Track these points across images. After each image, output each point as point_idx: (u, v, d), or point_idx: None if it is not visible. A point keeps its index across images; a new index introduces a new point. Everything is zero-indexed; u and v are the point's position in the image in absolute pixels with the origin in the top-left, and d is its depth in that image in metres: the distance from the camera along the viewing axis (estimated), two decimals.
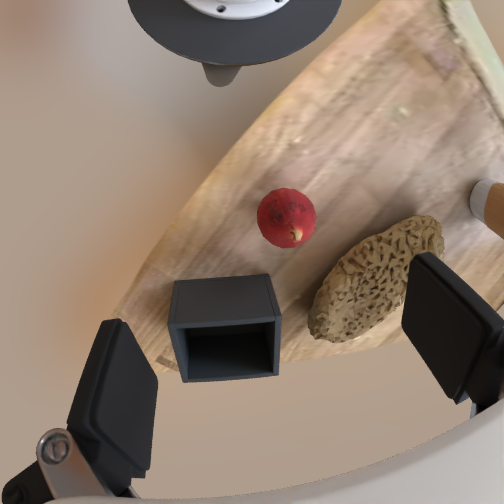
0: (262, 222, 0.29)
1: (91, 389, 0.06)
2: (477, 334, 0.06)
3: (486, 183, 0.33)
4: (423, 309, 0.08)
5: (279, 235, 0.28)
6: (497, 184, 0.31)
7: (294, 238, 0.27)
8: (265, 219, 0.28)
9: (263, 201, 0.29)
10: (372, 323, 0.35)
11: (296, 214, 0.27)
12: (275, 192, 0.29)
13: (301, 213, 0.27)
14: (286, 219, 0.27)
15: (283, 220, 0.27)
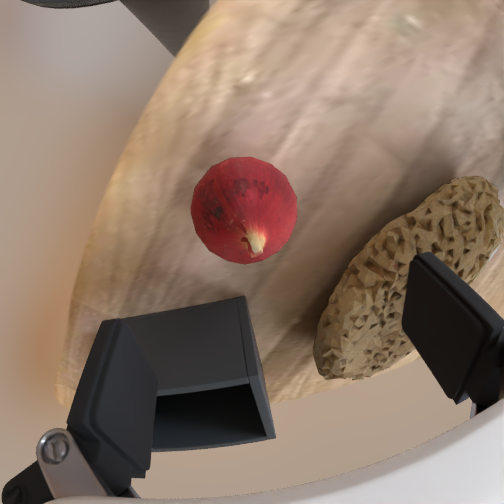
0: (196, 225, 0.16)
1: (91, 389, 0.06)
2: (477, 334, 0.06)
3: None
4: (423, 309, 0.08)
5: (226, 246, 0.15)
6: None
7: (250, 250, 0.13)
8: (199, 219, 0.15)
9: (195, 187, 0.16)
10: (409, 349, 0.22)
11: (250, 201, 0.14)
12: (213, 167, 0.16)
13: (260, 198, 0.14)
14: (231, 214, 0.14)
15: (226, 216, 0.14)
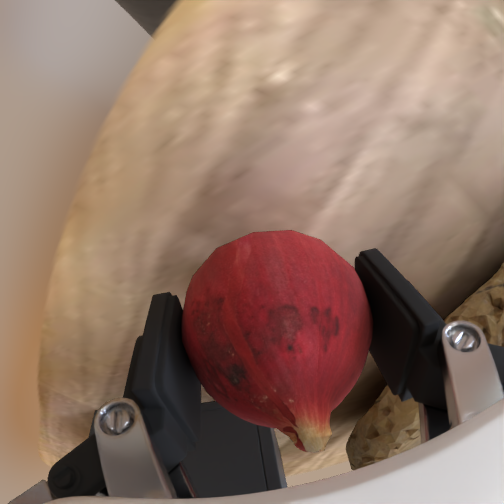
0: (193, 368, 0.08)
1: (155, 355, 0.07)
2: (409, 330, 0.06)
3: None
4: None
5: (250, 420, 0.07)
6: None
7: (301, 448, 0.06)
8: (198, 364, 0.08)
9: (188, 293, 0.08)
10: None
11: (305, 359, 0.06)
12: (222, 259, 0.08)
13: (324, 349, 0.06)
14: (265, 386, 0.06)
15: (252, 387, 0.06)
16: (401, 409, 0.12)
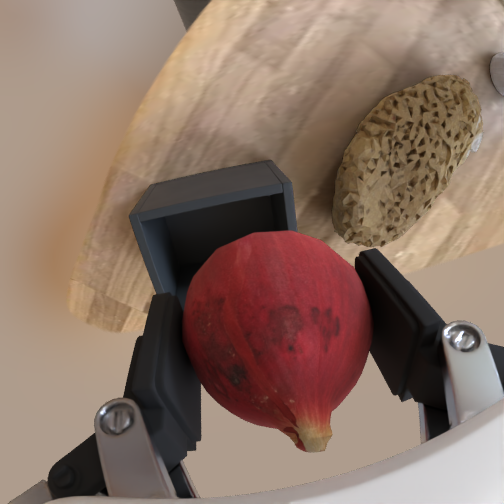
0: (194, 368, 0.08)
1: (155, 355, 0.07)
2: (409, 330, 0.06)
3: (502, 53, 0.21)
4: None
5: (251, 420, 0.07)
6: None
7: (302, 449, 0.06)
8: (198, 364, 0.08)
9: (188, 294, 0.08)
10: (418, 210, 0.25)
11: (306, 359, 0.06)
12: (222, 259, 0.08)
13: (325, 350, 0.06)
14: (265, 386, 0.06)
15: (253, 388, 0.06)
16: (355, 146, 0.23)
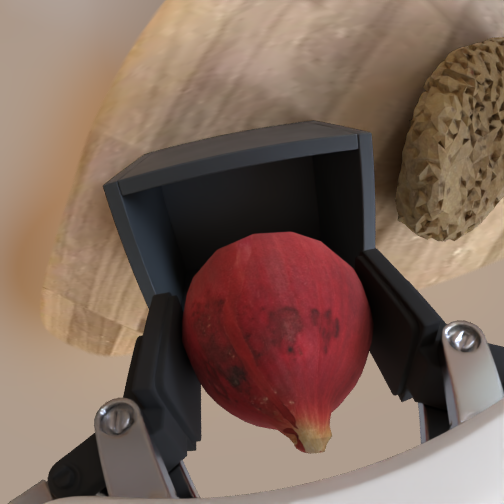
0: (194, 369, 0.08)
1: (155, 355, 0.07)
2: (409, 331, 0.06)
3: None
4: None
5: (250, 421, 0.07)
6: None
7: (301, 450, 0.06)
8: (198, 366, 0.08)
9: (188, 295, 0.08)
10: (499, 192, 0.16)
11: (305, 361, 0.06)
12: (222, 260, 0.08)
13: (324, 351, 0.06)
14: (265, 388, 0.06)
15: (253, 389, 0.06)
16: (431, 103, 0.15)
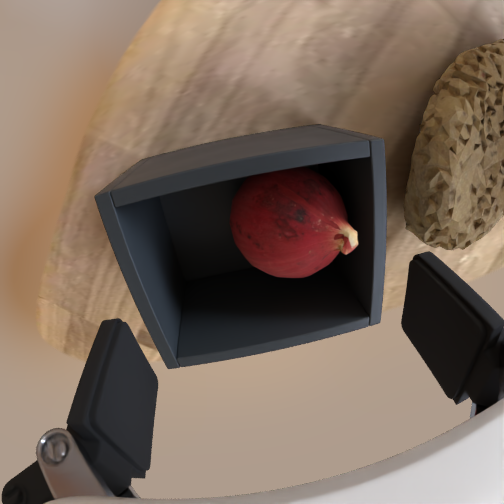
0: (261, 241, 0.13)
1: (91, 389, 0.06)
2: (477, 334, 0.06)
3: None
4: (423, 309, 0.08)
5: (310, 252, 0.13)
6: None
7: (348, 245, 0.12)
8: (268, 231, 0.13)
9: (243, 200, 0.14)
10: None
11: (328, 198, 0.13)
12: (259, 175, 0.14)
13: (332, 195, 0.13)
14: (317, 214, 0.12)
15: (311, 218, 0.12)
16: (442, 107, 0.14)
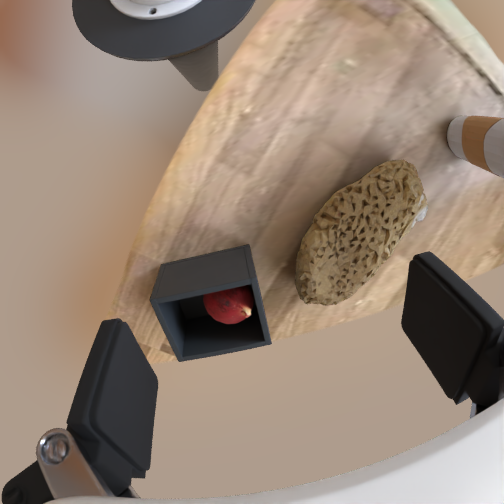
0: (214, 311, 0.33)
1: (91, 389, 0.06)
2: (477, 334, 0.06)
3: (459, 119, 0.31)
4: (423, 309, 0.08)
5: (232, 316, 0.33)
6: (470, 117, 0.29)
7: (246, 315, 0.32)
8: (216, 308, 0.33)
9: (207, 294, 0.34)
10: (362, 279, 0.35)
11: (239, 295, 0.33)
12: None
13: (242, 293, 0.33)
14: (233, 303, 0.32)
15: (231, 304, 0.32)
16: (309, 237, 0.34)
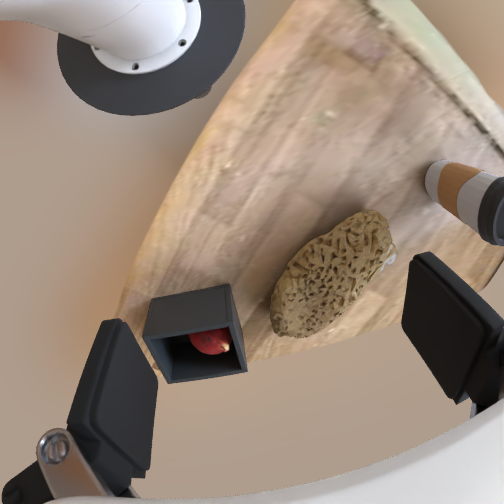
0: (197, 345, 0.38)
1: (91, 389, 0.06)
2: (477, 334, 0.06)
3: (438, 165, 0.35)
4: (423, 309, 0.08)
5: (213, 350, 0.37)
6: (449, 165, 0.33)
7: (224, 349, 0.37)
8: (199, 342, 0.37)
9: None
10: (329, 318, 0.39)
11: (219, 333, 0.37)
12: None
13: (222, 330, 0.37)
14: (214, 339, 0.37)
15: (212, 340, 0.37)
16: (282, 283, 0.38)
